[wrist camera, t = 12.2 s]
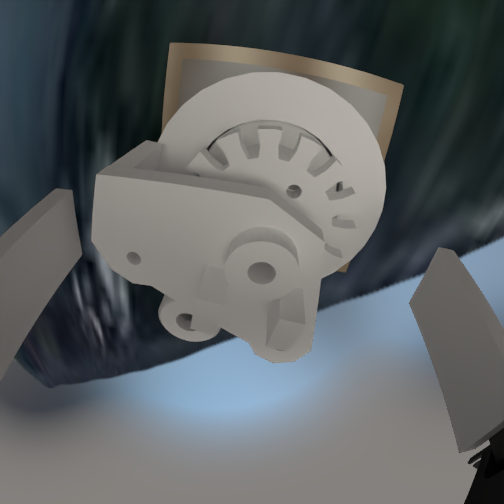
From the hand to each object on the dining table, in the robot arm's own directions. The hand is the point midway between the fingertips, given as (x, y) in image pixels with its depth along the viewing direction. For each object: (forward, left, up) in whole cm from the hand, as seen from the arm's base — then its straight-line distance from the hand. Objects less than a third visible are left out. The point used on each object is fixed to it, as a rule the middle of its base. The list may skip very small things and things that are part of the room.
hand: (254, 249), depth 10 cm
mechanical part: (0, 0, -10) cm, 10 cm away
